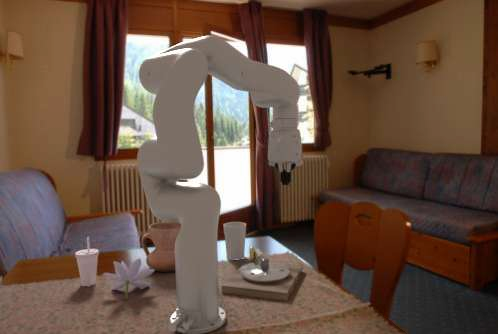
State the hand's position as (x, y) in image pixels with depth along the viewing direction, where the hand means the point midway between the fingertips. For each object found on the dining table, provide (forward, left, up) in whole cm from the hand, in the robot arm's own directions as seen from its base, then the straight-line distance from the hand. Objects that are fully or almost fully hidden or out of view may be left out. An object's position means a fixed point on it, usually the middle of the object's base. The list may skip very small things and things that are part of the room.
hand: (285, 184), depth 114 cm
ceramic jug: (-8, +38, -27) cm, 48 cm away
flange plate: (-9, +5, -25) cm, 27 cm away
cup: (+7, +20, -27) cm, 35 cm away
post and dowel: (-8, +7, -25) cm, 27 cm away
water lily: (-28, +37, -27) cm, 54 cm away
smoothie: (-27, +53, -27) cm, 65 cm away
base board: (-11, +4, -27) cm, 30 cm away
